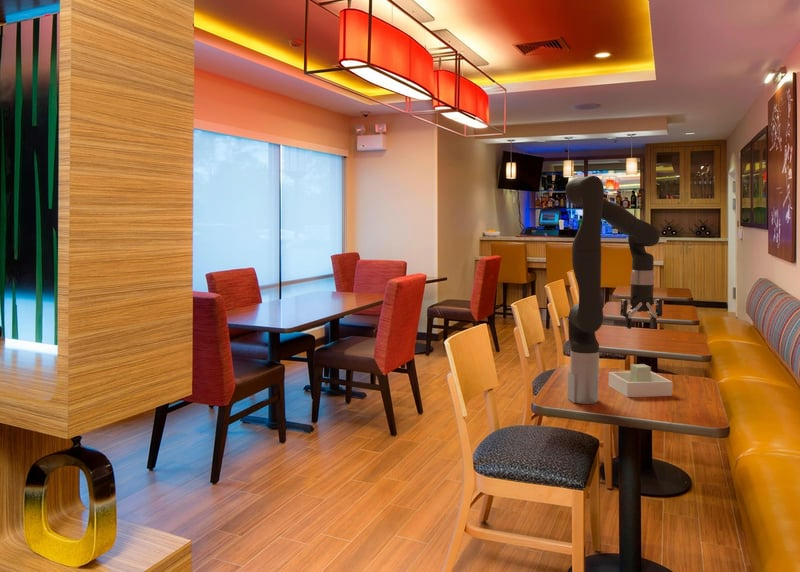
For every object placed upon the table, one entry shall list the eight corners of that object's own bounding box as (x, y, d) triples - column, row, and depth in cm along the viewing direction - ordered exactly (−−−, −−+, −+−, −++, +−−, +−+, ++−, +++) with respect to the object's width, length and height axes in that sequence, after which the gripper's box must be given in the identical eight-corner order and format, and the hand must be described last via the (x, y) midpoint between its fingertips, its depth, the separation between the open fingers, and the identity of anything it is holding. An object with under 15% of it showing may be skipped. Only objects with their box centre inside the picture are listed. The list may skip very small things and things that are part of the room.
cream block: (636, 389, 217) (637, 367, 217) (630, 386, 222) (630, 364, 222) (650, 389, 218) (650, 367, 217) (643, 385, 223) (644, 364, 222)
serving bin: (627, 397, 212) (627, 382, 211) (608, 385, 228) (608, 372, 227) (672, 395, 213) (672, 381, 212) (650, 384, 229) (650, 371, 228)
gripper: (627, 284, 212) (625, 330, 214) (667, 283, 213) (665, 329, 215) (618, 282, 220) (616, 327, 221) (656, 281, 221) (655, 326, 222)
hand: (640, 328), depth 218 cm, fingers open, 8 cm apart
